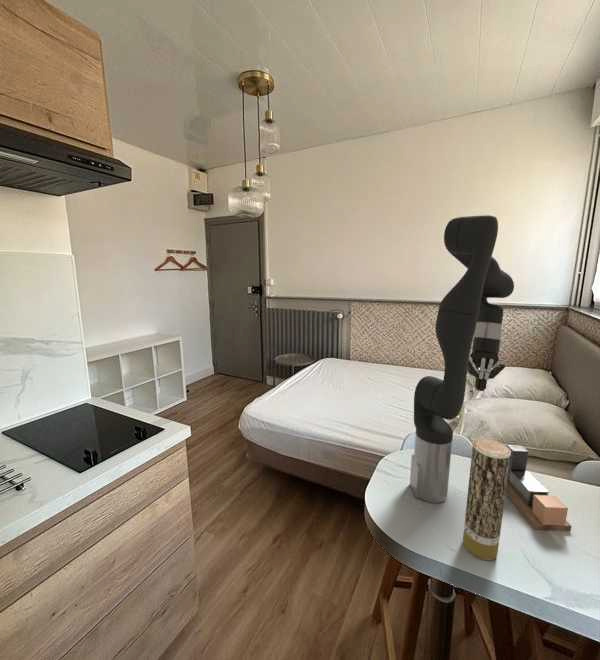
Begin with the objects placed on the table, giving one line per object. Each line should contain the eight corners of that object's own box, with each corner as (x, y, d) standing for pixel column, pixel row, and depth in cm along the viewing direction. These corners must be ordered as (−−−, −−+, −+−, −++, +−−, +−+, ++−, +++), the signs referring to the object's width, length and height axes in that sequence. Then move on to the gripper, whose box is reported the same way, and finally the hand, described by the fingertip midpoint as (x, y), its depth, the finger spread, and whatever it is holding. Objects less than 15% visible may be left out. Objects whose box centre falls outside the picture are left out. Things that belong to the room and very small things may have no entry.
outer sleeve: (527, 506, 80) (529, 491, 79) (508, 485, 88) (510, 471, 87) (546, 506, 80) (548, 491, 79) (525, 485, 87) (527, 471, 87)
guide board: (535, 529, 74) (536, 524, 74) (490, 475, 94) (491, 471, 94) (570, 531, 74) (571, 525, 74) (518, 476, 94) (518, 472, 93)
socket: (543, 524, 74) (545, 507, 73) (531, 511, 78) (534, 495, 77) (565, 525, 74) (568, 508, 73) (552, 512, 78) (555, 495, 77)
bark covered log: (487, 536, 73) (499, 439, 68) (503, 563, 66) (518, 457, 61) (457, 534, 73) (467, 437, 69) (470, 560, 67) (482, 455, 62)
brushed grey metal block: (542, 520, 75) (548, 483, 73) (503, 475, 91) (507, 445, 89) (559, 520, 75) (566, 484, 73) (517, 476, 91) (521, 445, 89)
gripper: (472, 334, 96) (465, 390, 96) (515, 340, 96) (508, 395, 96) (460, 334, 104) (453, 385, 104) (500, 339, 103) (493, 391, 103)
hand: (479, 390), depth 100 cm, fingers closed
